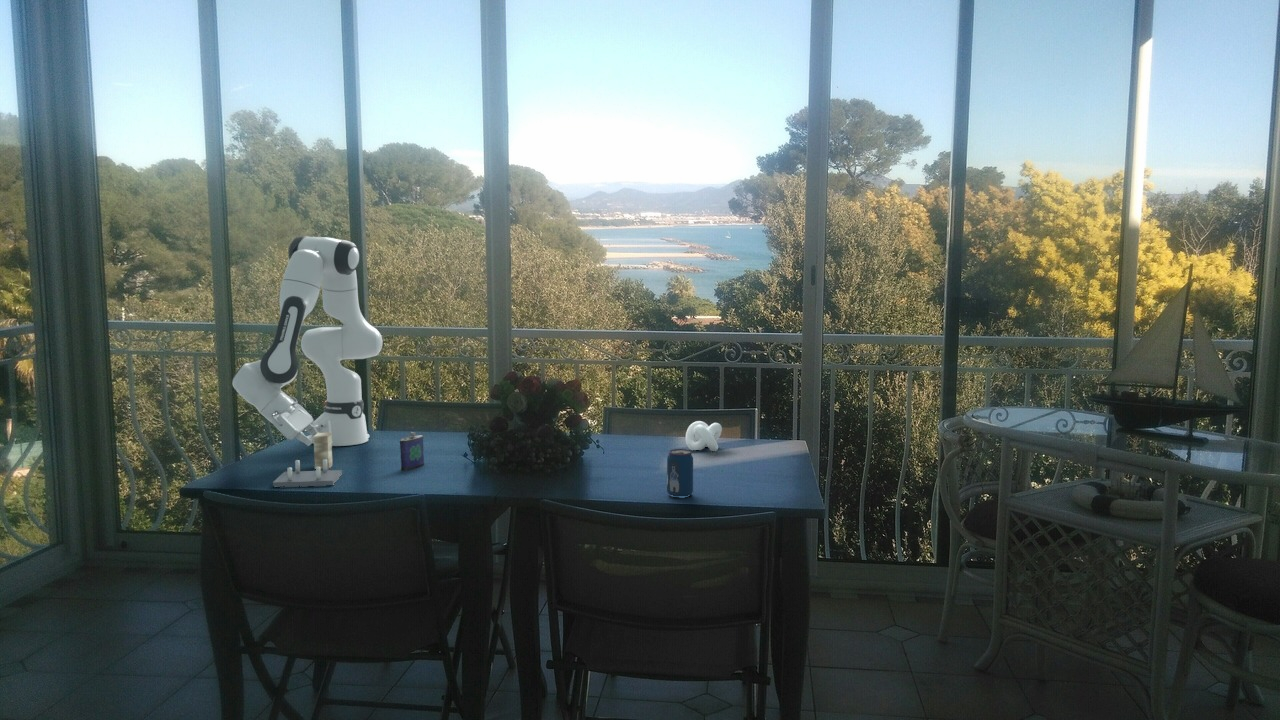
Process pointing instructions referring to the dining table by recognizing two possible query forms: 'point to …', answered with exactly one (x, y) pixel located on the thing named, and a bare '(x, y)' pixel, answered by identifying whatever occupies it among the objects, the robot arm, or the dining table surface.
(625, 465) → the dining table surface
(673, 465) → the soda can
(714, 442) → the white knot sculpture
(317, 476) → the chassis plate
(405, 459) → the flask
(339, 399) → the robot arm
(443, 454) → the dining table surface
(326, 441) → the birch block
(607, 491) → the dining table surface
